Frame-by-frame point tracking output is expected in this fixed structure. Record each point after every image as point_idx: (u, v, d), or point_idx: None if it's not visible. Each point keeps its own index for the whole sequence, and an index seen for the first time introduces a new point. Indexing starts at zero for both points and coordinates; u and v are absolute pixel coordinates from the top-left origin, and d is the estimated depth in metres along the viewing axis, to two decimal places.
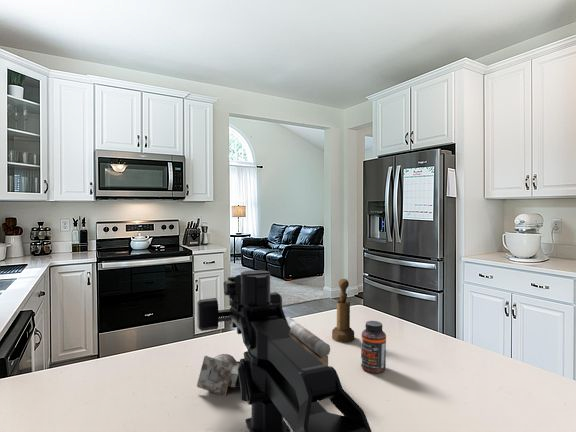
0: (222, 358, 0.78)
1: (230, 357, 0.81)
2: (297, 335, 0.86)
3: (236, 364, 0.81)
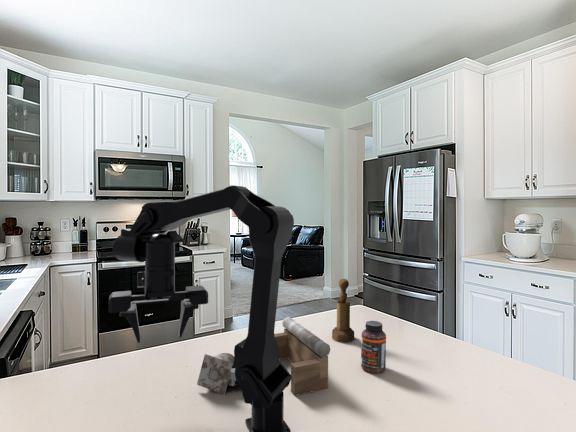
0: (222, 357, 0.79)
1: (231, 356, 0.81)
2: (297, 335, 0.86)
3: None
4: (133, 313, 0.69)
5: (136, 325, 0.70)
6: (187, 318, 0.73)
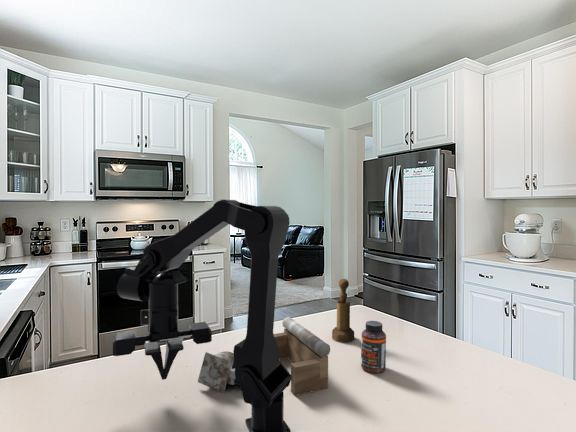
0: (222, 355, 0.79)
1: (232, 355, 0.82)
2: (297, 335, 0.86)
3: None
4: (158, 352, 0.70)
5: (161, 363, 0.72)
6: (172, 360, 0.72)
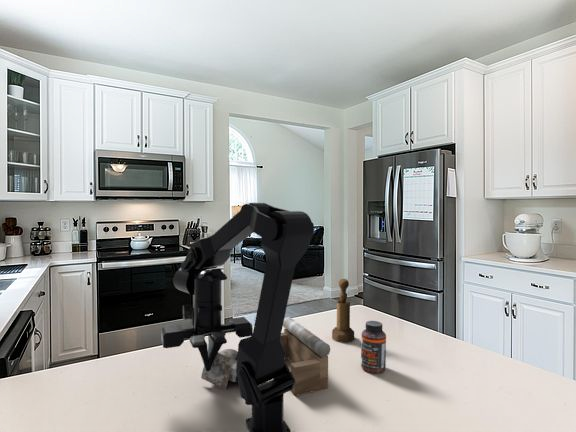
0: (225, 353, 0.81)
1: (235, 352, 0.83)
2: (297, 335, 0.86)
3: None
4: (204, 345, 0.74)
5: (206, 355, 0.75)
6: (216, 352, 0.76)
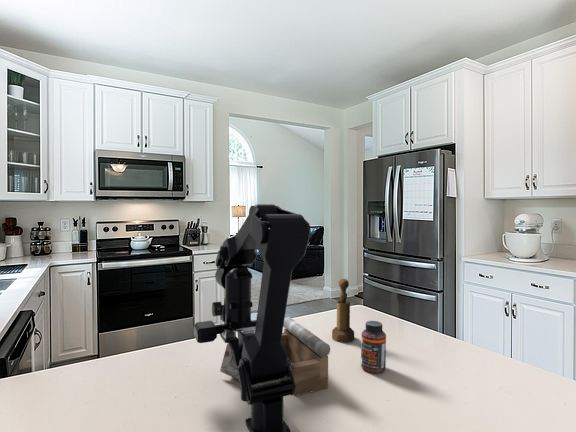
0: None
1: None
2: (297, 335, 0.86)
3: None
4: (236, 340, 0.77)
5: (237, 350, 0.78)
6: None
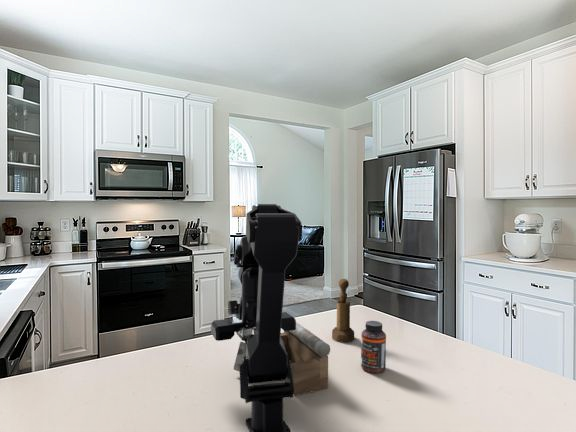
0: None
1: None
2: (297, 335, 0.86)
3: None
4: None
5: None
6: None
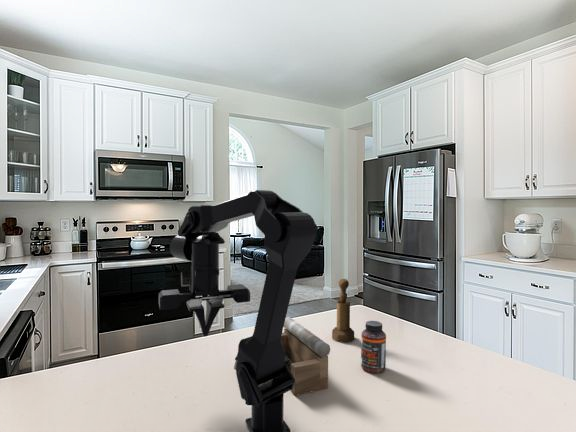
0: None
1: None
2: (297, 335, 0.86)
3: None
4: (201, 308, 0.74)
5: (203, 320, 0.75)
6: (213, 317, 0.76)
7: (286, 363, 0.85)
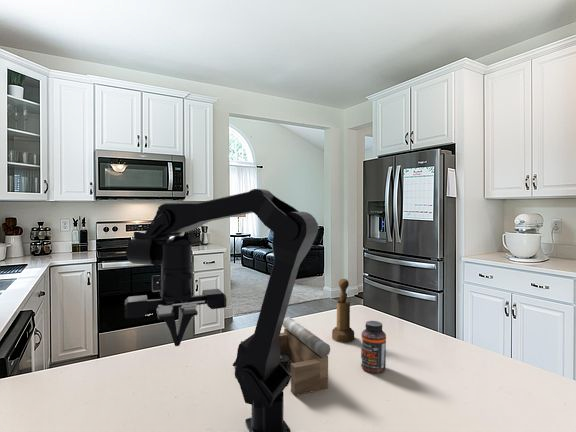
0: None
1: None
2: (297, 335, 0.86)
3: None
4: (171, 316, 0.67)
5: (174, 328, 0.69)
6: (185, 325, 0.69)
7: (286, 363, 0.85)
